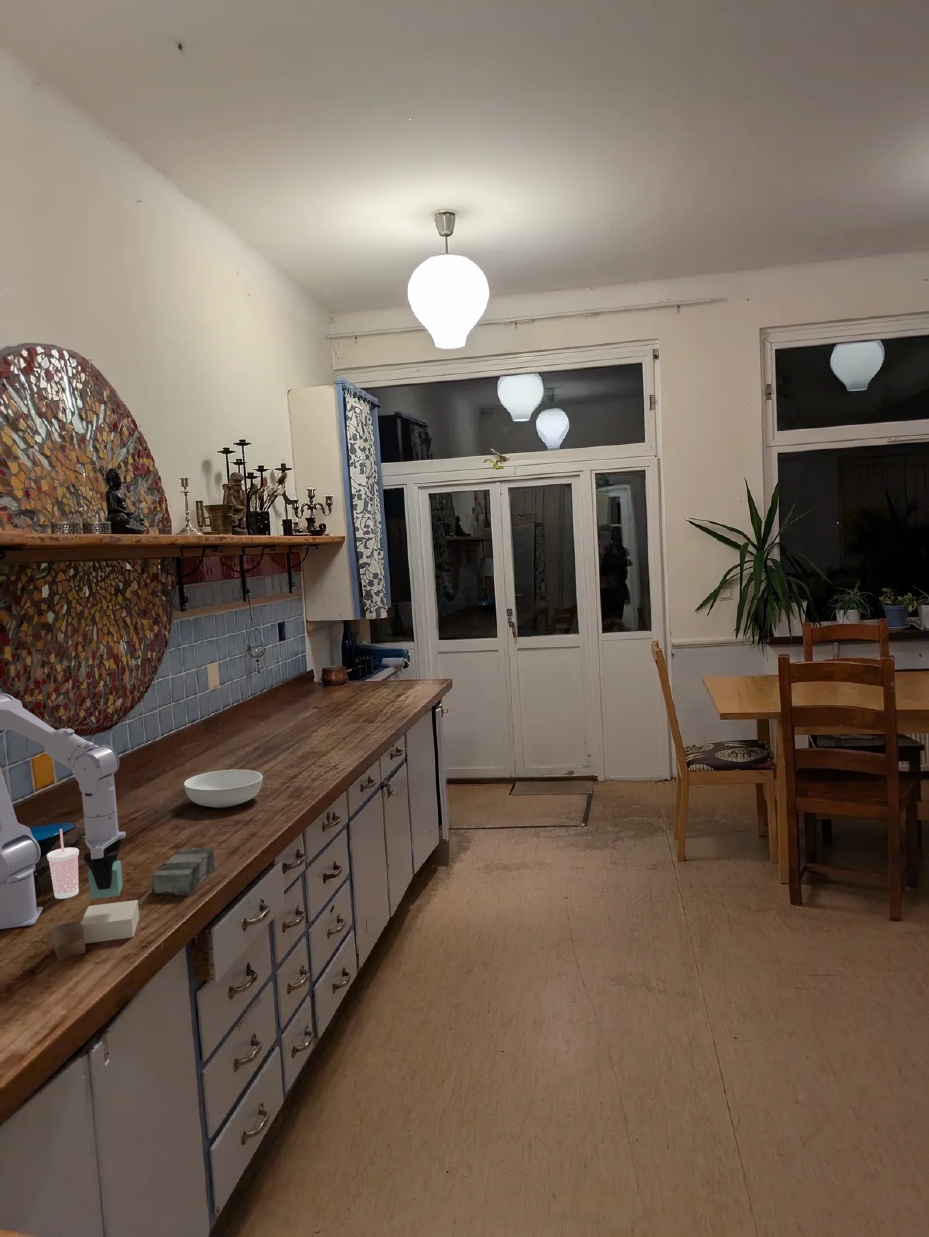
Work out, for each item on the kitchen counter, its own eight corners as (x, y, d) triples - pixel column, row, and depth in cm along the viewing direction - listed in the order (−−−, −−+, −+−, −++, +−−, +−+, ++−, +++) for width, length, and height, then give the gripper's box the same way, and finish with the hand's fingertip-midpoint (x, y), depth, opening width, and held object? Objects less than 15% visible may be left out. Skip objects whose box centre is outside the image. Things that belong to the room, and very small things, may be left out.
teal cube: (90, 899, 168) (88, 873, 168) (94, 889, 173) (92, 863, 172) (118, 895, 169) (116, 869, 169) (122, 885, 174) (120, 860, 174)
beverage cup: (46, 894, 190) (40, 829, 189) (75, 886, 194) (69, 822, 193) (57, 902, 186) (51, 836, 184) (87, 893, 190) (81, 828, 189)
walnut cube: (58, 960, 160) (56, 935, 160) (54, 950, 164) (52, 926, 163) (85, 952, 162) (83, 928, 162) (80, 943, 166) (78, 920, 166)
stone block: (148, 897, 187) (145, 873, 187) (176, 871, 201) (174, 848, 201) (189, 896, 186) (187, 872, 186) (215, 870, 201) (213, 847, 200)
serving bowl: (244, 815, 238) (242, 790, 238) (171, 814, 243) (169, 789, 242) (276, 792, 259) (274, 769, 258) (208, 791, 263) (206, 768, 262)
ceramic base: (81, 943, 166) (79, 925, 166) (90, 923, 175) (88, 906, 174) (133, 937, 168) (131, 918, 168) (139, 917, 177) (137, 899, 176)
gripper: (117, 821, 163) (124, 894, 165) (128, 799, 177) (133, 866, 179) (75, 826, 162) (82, 900, 163) (89, 803, 176) (95, 871, 177)
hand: (106, 883), depth 171 cm, fingers closed on teal cube, 5 cm apart
